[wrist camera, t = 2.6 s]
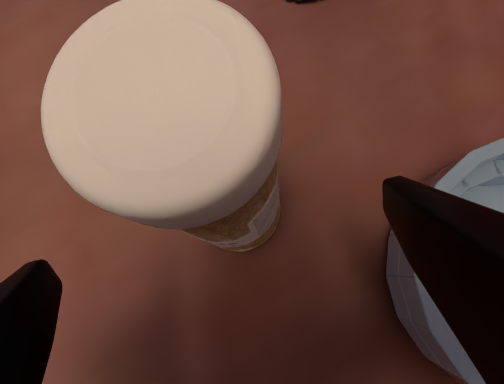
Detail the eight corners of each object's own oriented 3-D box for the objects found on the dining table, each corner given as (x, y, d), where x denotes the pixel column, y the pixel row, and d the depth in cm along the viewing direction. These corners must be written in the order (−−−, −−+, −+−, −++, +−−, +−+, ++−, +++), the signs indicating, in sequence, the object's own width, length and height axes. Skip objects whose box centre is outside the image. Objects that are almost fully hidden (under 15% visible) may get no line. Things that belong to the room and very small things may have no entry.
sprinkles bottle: (184, 231, 19) (-19, 153, 6) (220, 157, 20) (105, -51, 7) (261, 267, 19) (210, 264, 6) (296, 189, 19) (324, 23, 6)
